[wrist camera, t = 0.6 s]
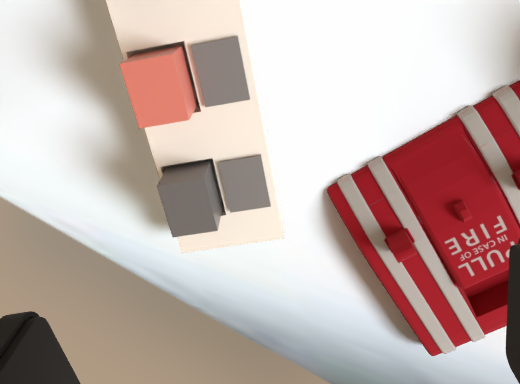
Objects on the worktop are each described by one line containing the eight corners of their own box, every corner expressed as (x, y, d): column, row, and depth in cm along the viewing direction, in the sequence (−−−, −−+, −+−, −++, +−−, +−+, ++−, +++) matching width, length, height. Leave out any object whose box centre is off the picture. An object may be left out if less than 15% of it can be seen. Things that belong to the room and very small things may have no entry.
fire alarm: (565, 94, 28) (648, 313, 35) (519, 74, 33) (599, 268, 40) (331, 219, 32) (447, 392, 39) (323, 184, 38) (427, 342, 45)
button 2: (134, 54, 30) (119, 64, 27) (181, 45, 30) (172, 54, 27) (151, 113, 32) (139, 128, 29) (196, 105, 31) (189, 120, 29)
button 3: (166, 167, 33) (156, 186, 31) (210, 160, 33) (204, 178, 30) (180, 215, 35) (172, 237, 32) (222, 208, 35) (217, 230, 32)
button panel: (46, -267, 25) (12, -302, 22) (187, -304, 25) (174, -347, 21) (189, 229, 39) (181, 255, 36) (283, 216, 38) (284, 240, 35)
